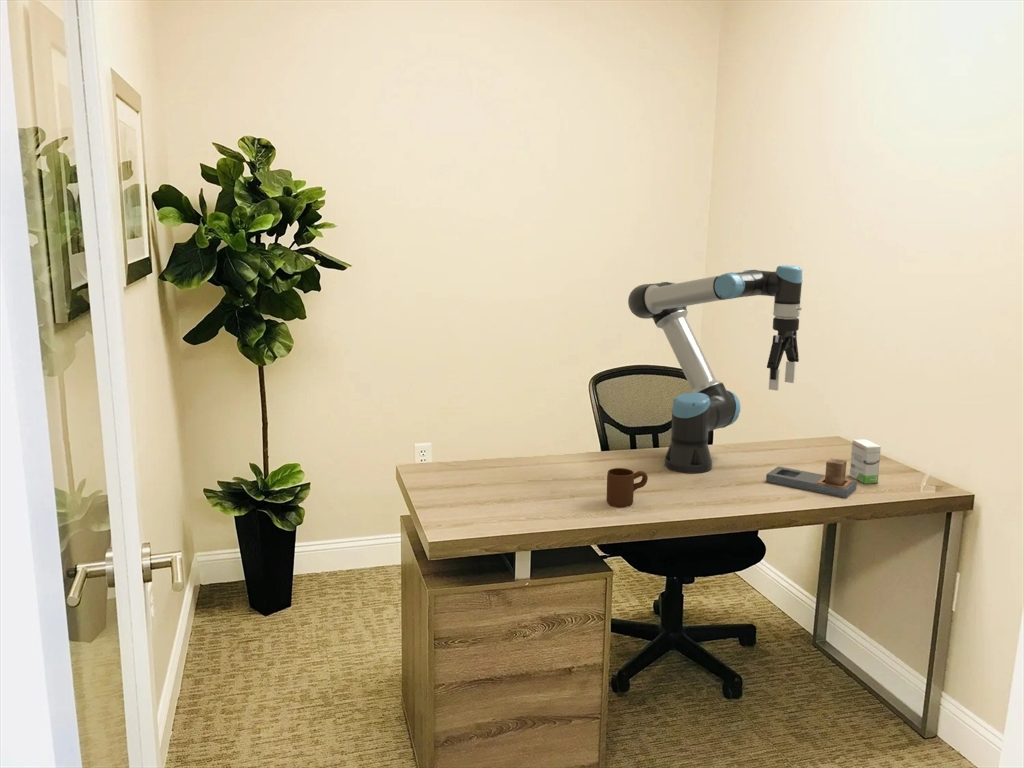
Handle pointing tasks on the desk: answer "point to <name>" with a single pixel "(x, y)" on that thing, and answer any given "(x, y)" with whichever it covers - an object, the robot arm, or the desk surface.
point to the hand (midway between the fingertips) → (781, 386)
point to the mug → (623, 486)
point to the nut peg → (835, 472)
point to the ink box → (865, 461)
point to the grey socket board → (809, 482)
